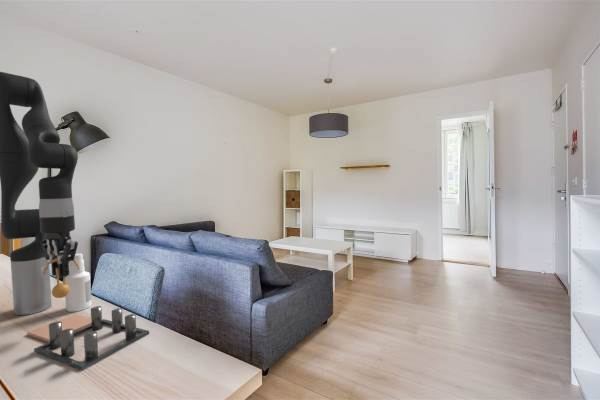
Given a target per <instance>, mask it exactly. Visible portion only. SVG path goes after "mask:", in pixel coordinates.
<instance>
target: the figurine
mask: <svg viewBox="0 0 600 400" xmlns="http://www.w3.org/2000/svg"><path fill="white" fill-rule="evenodd" d="M62 257H63V255H62ZM73 261H74V263H75V264H76V266H77V267H78V270H79V266H78V264H77V263H76V261H75V260H73ZM54 262H57V263H58V258H56V259H54V260H52V261H49V262H48V263H47V265H46V267H45V269H44V271H43V275H44V274H45V273H46V272H45V271H46V270H47V268H48V266H49V267H50V264H51V263H54ZM58 264H59V263H58ZM56 275H57V276H56V285H54V286H53V288H51V296H52V297H54V298H56V299H62V298H65V296H66V295H68V293H69V291H70V288H69V286H68V285H67V284H66V283H65V278H66V277H67V276H65V277H62V283H60V278H61V277H59V269H58V268H56Z"/></svg>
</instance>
